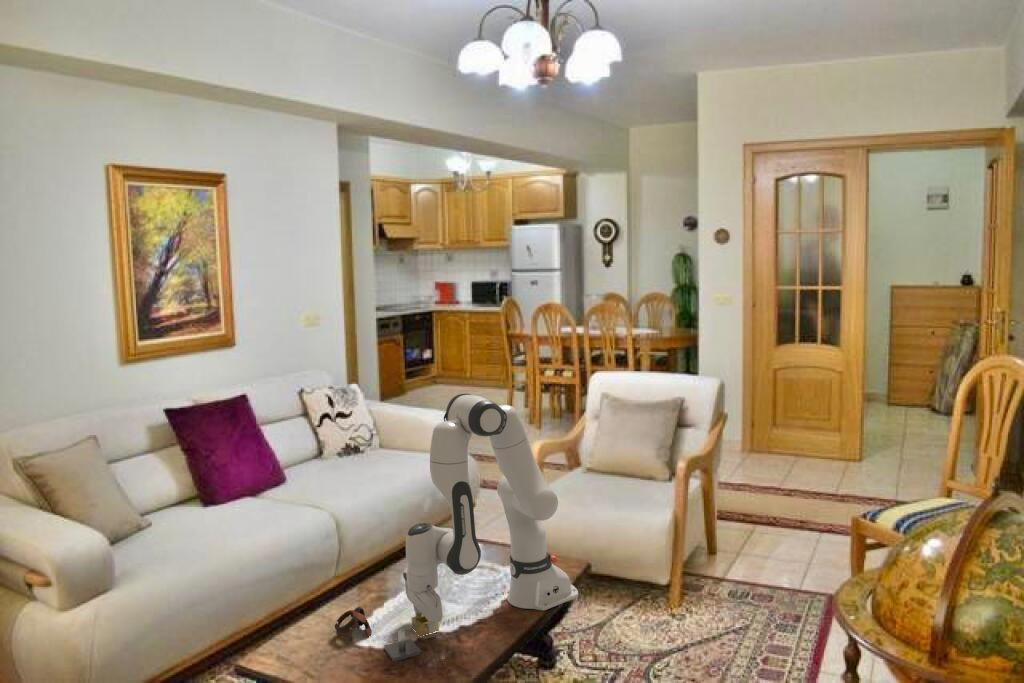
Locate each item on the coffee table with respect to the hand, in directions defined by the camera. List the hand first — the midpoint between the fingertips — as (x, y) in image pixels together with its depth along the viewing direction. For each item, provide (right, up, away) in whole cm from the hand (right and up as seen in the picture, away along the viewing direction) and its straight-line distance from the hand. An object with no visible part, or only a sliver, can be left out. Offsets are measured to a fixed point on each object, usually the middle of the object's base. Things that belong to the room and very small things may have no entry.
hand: (425, 624), depth 240 cm
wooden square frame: (0, -2, 0) cm, 2 cm away
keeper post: (-5, -4, -11) cm, 13 cm away
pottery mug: (-20, -3, 0) cm, 21 cm away
